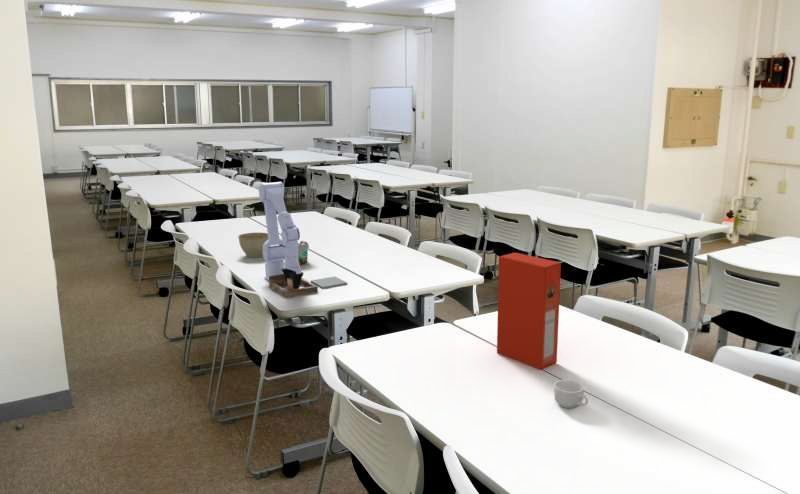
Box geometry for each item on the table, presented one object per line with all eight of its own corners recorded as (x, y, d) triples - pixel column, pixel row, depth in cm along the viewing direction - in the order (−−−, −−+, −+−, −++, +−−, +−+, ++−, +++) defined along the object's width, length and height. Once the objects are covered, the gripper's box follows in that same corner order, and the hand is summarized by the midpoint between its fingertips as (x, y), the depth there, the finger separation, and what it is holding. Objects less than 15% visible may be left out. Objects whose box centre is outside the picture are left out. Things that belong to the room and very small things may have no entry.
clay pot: (286, 289, 275) (285, 277, 274) (296, 287, 278) (295, 276, 277) (290, 291, 272) (289, 280, 271) (300, 290, 274) (299, 278, 273)
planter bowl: (276, 256, 333) (275, 235, 330) (246, 261, 324) (245, 240, 322) (264, 250, 346) (262, 230, 343) (235, 254, 337) (233, 234, 334)
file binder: (540, 370, 191) (544, 267, 184) (496, 353, 204) (498, 256, 197) (556, 363, 196) (561, 262, 189) (512, 347, 209) (515, 252, 202)
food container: (304, 266, 312) (303, 246, 310) (292, 266, 313) (291, 246, 311) (313, 260, 324) (312, 241, 321) (301, 260, 325) (300, 240, 323)
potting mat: (310, 282, 285) (310, 280, 285) (335, 278, 292) (334, 276, 291) (322, 288, 276) (322, 286, 275) (347, 284, 282) (347, 282, 282)
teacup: (546, 403, 171) (547, 384, 170) (566, 395, 176) (567, 377, 174) (576, 417, 163) (578, 398, 162) (596, 409, 168) (597, 390, 166)
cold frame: (269, 287, 279) (268, 276, 277) (300, 281, 286) (299, 271, 285) (285, 297, 263) (285, 286, 262) (317, 292, 271) (317, 280, 270)
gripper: (276, 253, 275) (277, 283, 278) (289, 260, 263) (291, 292, 266) (291, 251, 279) (292, 281, 282) (305, 258, 267) (306, 289, 270)
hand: (293, 286), depth 274 cm, fingers open, 7 cm apart
